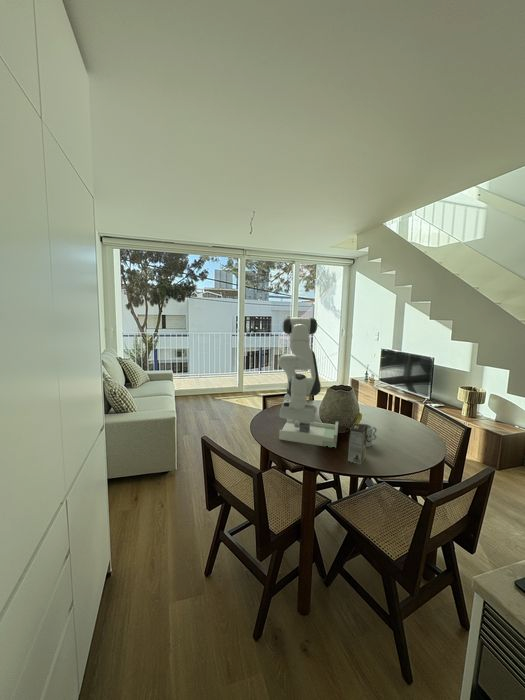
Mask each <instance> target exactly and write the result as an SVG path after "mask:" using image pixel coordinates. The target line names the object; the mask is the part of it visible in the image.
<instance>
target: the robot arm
mask: <svg viewBox="0 0 525 700" xmlns="http://www.w3.org/2000/svg"><path fill="white" fill-rule="evenodd" d="M281 325H282V327H281V328H282V330H283V332H284V333H285V334H287V335H289V336H290V337H289V348H290V351H291V353H285V354H281V355H280V356H279V358H278V360H277V361H278V363H277V364H278V366H279V367H280V369H282V370H283V371H284V372H285V374H286V378H287V388H286V393H285V395H284V397H283V399H284V400H283V401H282V402H281V407H280V409H279V415H278V416H279V418H280V419H286V420H287V419H292V420H293V423H294V427H296V428H299V427H300V424H301V422H302V421H306V422H316V421H317V420H316V418H317V416H316V414H317V407H316V406H315V405H311V404H308V403H307V396H308V395H309V396H317V395H319V394H320V393H321V389H322V386H321V385H322V384H321V381H320V377H319V370H318V364H317V359H316V354H315V352H314V351H313V350H312V349H311V346H310V335H314V334H315V333H316V332H317V330H318V326H319V325H318V322H317V320H316V319H315V318H314V317H306V316H303V317H302V316H299V317H298V316H297V317H295V316H294V317H285V318H284V319H283V321H282V324H281ZM297 370H298V371H308V370H309V371H310V377H307V376H306V375H304V374H303V373H297V372H296V371H297ZM296 420H299V424H296V422H295V421H296Z"/></svg>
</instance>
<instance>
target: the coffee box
mask: <svg viewBox="0 0 525 700" xmlns="http://www.w3.org/2000/svg"><path fill="white" fill-rule="evenodd" d="M367 427H368V426H366V425H360V424H354V425H353V426H352V427H351V429H350V430H349V439H348V456H347V462H348V461H350V463H352V462H353V463H354V464H356V463H357V464H356V465H362V464H363V462H364V460H365V458H366V449H367V447H366V439H367Z"/></svg>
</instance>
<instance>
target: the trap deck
mask: <svg viewBox="0 0 525 700" xmlns="http://www.w3.org/2000/svg"><path fill="white" fill-rule="evenodd" d="M295 422H296V424H299V420H296V421H295ZM302 422H306V421H302ZM308 423H310V430H309V433H306V432H299V430H300V427H299V428H296V427H294V423H293V420H292V419H286V423H285V424H284V426H283V427H282V429H279V433H278V435H279V436H278V437H279V438H278V439H279V440H281V441H288V442H295V443H300V444H307V445H314V446H321V447H326V446H328V447H327V448H332V447H335V448H334V449H337V442H338V434H339V433H338V431H339V421H335V424H333V423H332V424H331V423H325V422H317V421H315V422H308Z"/></svg>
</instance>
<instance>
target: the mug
mask: <svg viewBox="0 0 525 700" xmlns="http://www.w3.org/2000/svg"><path fill="white" fill-rule="evenodd" d="M359 424H360V425H366V426H368V427H367V439H366V448H370V447H372V445H373V441H375V440H376V439H377V434H376V433H377V431H378V429H377V428H376V427H375V426H372V425H371V424H368V423H363V422H362V423H361V422H360V423H359Z"/></svg>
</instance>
